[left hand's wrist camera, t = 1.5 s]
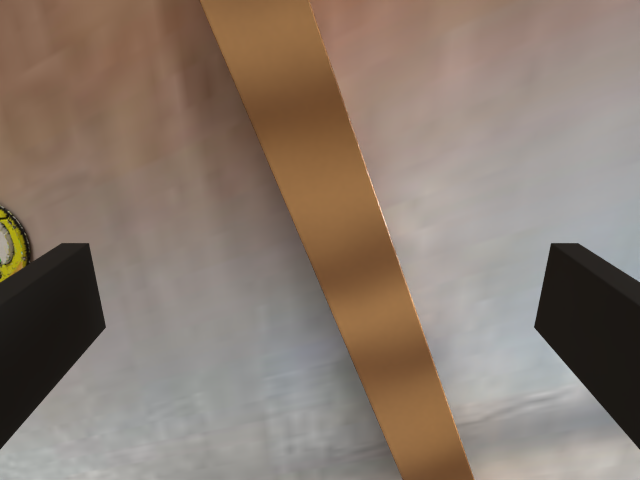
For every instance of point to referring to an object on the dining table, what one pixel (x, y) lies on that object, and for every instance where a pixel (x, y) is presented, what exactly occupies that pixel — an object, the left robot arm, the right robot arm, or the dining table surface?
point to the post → (339, 223)
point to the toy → (12, 245)
